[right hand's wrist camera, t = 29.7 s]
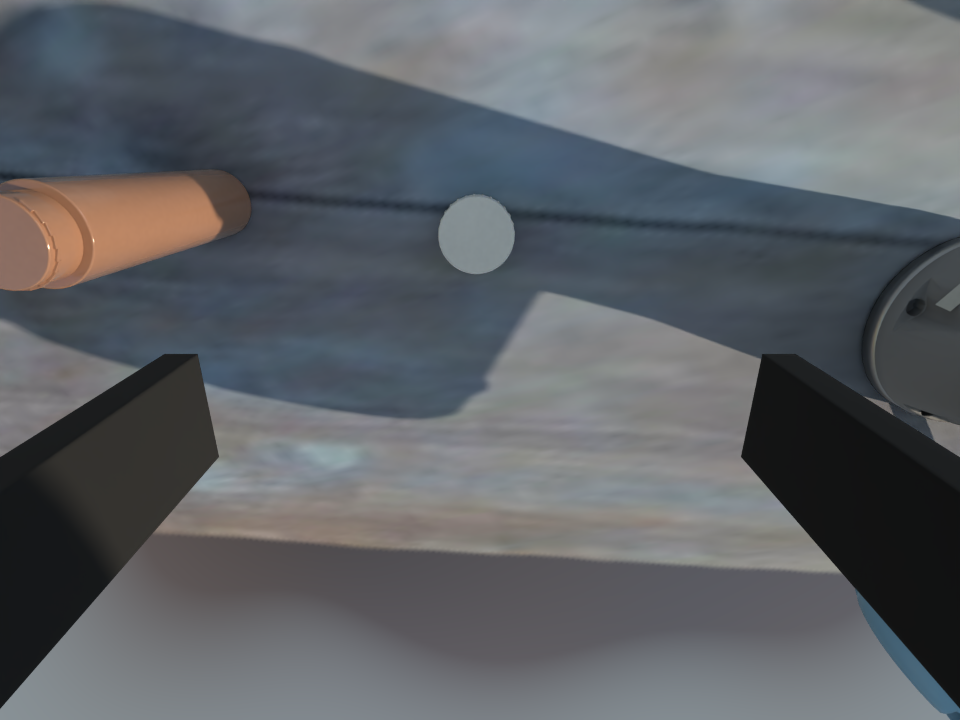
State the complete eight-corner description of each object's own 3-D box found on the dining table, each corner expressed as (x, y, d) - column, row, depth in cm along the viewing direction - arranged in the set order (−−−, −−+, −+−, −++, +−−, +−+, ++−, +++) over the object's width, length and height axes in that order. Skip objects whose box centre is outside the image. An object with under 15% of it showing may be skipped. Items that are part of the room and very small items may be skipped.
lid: (507, 187, 39) (509, 189, 37) (518, 262, 41) (520, 268, 39) (432, 200, 39) (430, 203, 37) (447, 274, 42) (445, 281, 39)
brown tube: (227, 249, 41) (24, 323, 23) (173, 203, 40) (-86, 243, 21) (264, 203, 40) (82, 243, 21) (210, 154, 38) (-32, 153, 20)
